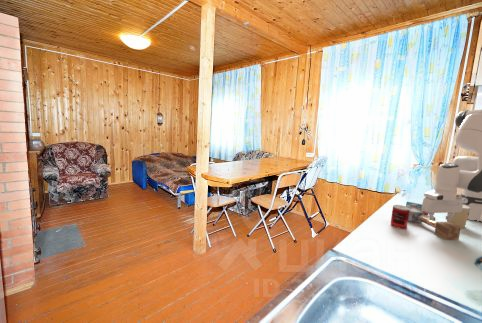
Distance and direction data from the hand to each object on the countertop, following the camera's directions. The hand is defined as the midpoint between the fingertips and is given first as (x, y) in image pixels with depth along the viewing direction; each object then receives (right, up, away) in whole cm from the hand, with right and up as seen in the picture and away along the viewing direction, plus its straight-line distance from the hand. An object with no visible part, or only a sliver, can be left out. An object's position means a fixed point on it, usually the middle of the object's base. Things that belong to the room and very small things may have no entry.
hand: (440, 219), depth 120 cm
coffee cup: (+19, -6, +12) cm, 23 cm away
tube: (-1, -5, +3) cm, 6 cm away
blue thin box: (+11, -3, +31) cm, 33 cm away
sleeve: (-2, -5, +16) cm, 17 cm away
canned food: (-17, -6, +8) cm, 19 cm away
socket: (0, -8, -4) cm, 9 cm away
